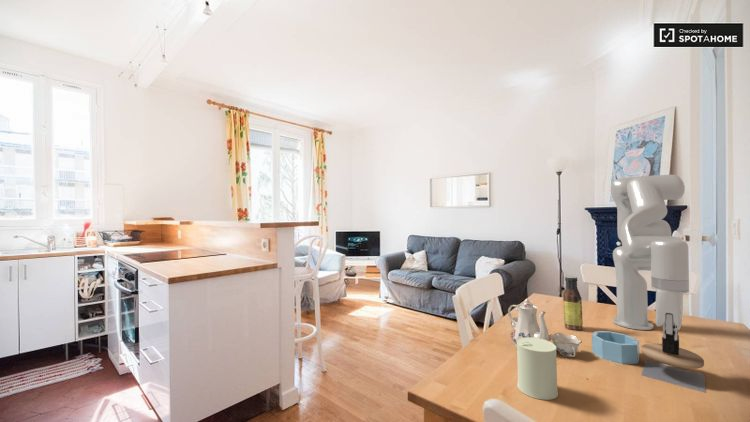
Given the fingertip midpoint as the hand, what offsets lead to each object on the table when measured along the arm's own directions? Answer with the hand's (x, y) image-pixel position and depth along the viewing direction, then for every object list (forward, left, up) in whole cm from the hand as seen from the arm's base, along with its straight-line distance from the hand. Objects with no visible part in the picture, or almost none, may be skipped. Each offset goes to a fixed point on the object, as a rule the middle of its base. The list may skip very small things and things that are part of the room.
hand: (670, 350), depth 85 cm
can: (+33, -24, -7) cm, 41 cm away
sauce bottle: (-23, -29, -7) cm, 38 cm away
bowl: (-3, -13, -7) cm, 15 cm away
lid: (0, 0, -2) cm, 2 cm away
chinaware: (+4, -34, -7) cm, 35 cm away
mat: (+1, 0, -7) cm, 7 cm away
